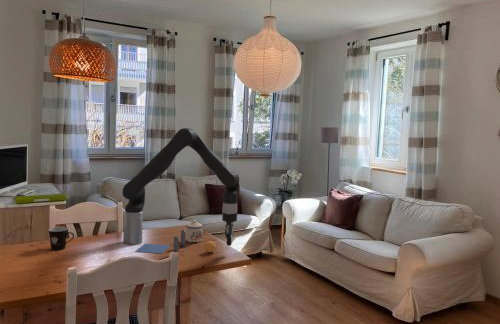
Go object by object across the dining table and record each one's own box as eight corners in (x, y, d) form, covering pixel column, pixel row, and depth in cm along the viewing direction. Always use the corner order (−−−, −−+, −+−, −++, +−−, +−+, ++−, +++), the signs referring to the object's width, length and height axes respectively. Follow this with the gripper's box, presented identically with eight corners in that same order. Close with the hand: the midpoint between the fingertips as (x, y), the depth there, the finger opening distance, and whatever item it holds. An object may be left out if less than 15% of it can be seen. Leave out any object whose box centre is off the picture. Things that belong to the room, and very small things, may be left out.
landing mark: (135, 251, 202) (135, 251, 202) (145, 243, 216) (145, 243, 216) (161, 253, 200) (161, 253, 200) (170, 245, 214) (170, 245, 214)
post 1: (172, 254, 199) (173, 237, 198) (174, 253, 201) (174, 236, 201) (177, 255, 199) (177, 237, 198) (178, 253, 201) (179, 236, 200)
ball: (202, 254, 202) (203, 242, 202) (205, 250, 208) (205, 239, 208) (214, 255, 202) (214, 243, 201) (216, 251, 207) (217, 240, 207)
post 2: (180, 247, 212) (180, 230, 211) (181, 246, 214) (181, 229, 213) (184, 247, 212) (184, 231, 211) (185, 246, 214) (186, 229, 213)
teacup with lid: (190, 244, 219) (191, 223, 218) (183, 239, 226) (183, 219, 225) (209, 241, 226) (210, 220, 225) (201, 237, 233) (202, 217, 232)
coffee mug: (44, 249, 200) (44, 229, 199) (60, 245, 207) (60, 226, 206) (60, 253, 194) (60, 233, 193) (75, 249, 202) (75, 229, 201)
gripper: (224, 208, 209) (223, 241, 210) (220, 213, 196) (219, 248, 197) (239, 209, 208) (238, 242, 209) (235, 214, 195) (234, 249, 196)
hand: (228, 245), depth 203 cm, fingers closed
